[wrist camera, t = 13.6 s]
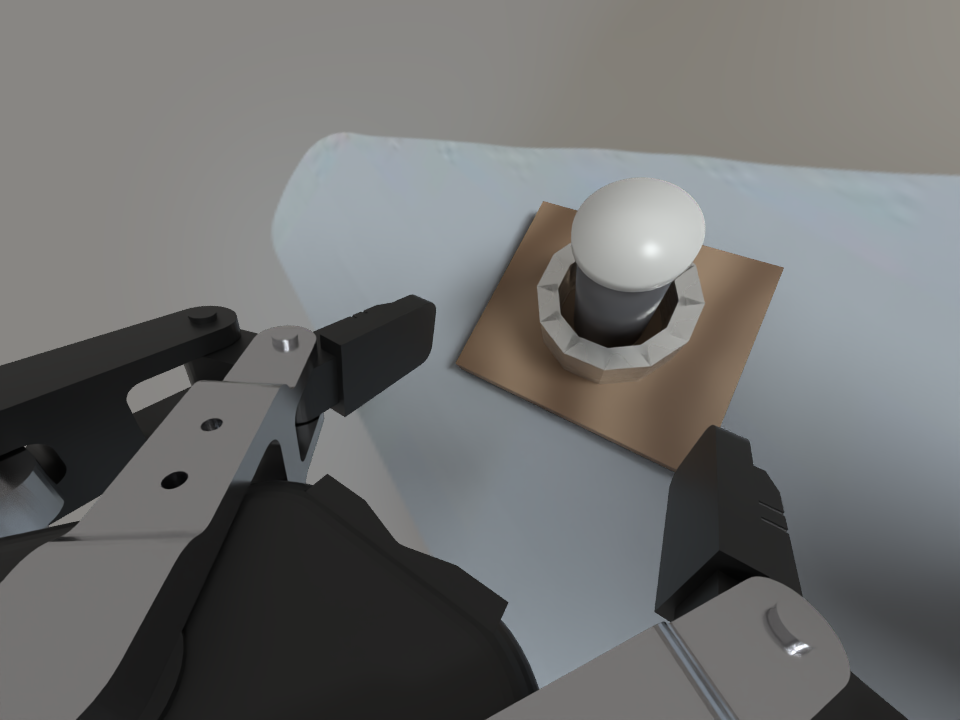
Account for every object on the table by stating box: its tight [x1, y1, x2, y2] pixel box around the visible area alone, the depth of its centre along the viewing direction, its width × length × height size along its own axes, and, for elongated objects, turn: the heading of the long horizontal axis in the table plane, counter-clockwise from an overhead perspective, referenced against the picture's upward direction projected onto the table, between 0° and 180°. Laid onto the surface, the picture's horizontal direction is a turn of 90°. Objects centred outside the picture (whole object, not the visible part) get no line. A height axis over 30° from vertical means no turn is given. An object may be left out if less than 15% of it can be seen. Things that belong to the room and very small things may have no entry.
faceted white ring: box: [537, 243, 705, 384], centre depth 22 cm, size 9×9×4 cm
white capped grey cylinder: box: [571, 178, 705, 348], centre depth 19 cm, size 5×5×10 cm
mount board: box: [456, 201, 784, 472], centre depth 24 cm, size 16×14×2 cm
